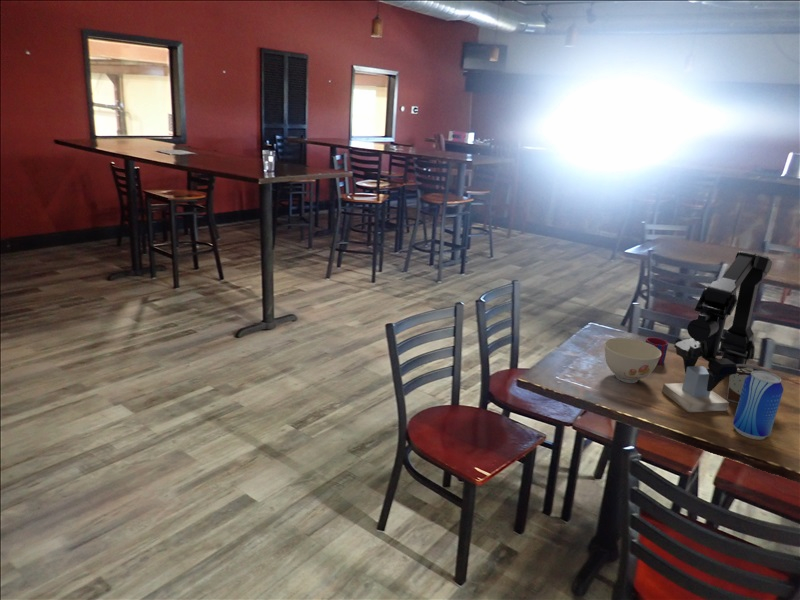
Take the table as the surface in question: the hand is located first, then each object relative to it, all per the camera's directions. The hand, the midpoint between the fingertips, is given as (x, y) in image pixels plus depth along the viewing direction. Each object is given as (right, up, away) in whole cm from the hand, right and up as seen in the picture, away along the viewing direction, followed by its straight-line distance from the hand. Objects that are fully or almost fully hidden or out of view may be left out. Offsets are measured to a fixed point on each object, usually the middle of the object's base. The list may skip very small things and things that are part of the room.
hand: (697, 383), depth 163 cm
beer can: (+7, -11, -13) cm, 18 cm away
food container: (+16, -6, +4) cm, 17 cm away
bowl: (-15, -1, +13) cm, 20 cm away
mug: (+1, +4, +29) cm, 29 cm away
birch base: (0, -5, +2) cm, 6 cm away
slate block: (0, -3, +1) cm, 3 cm away
